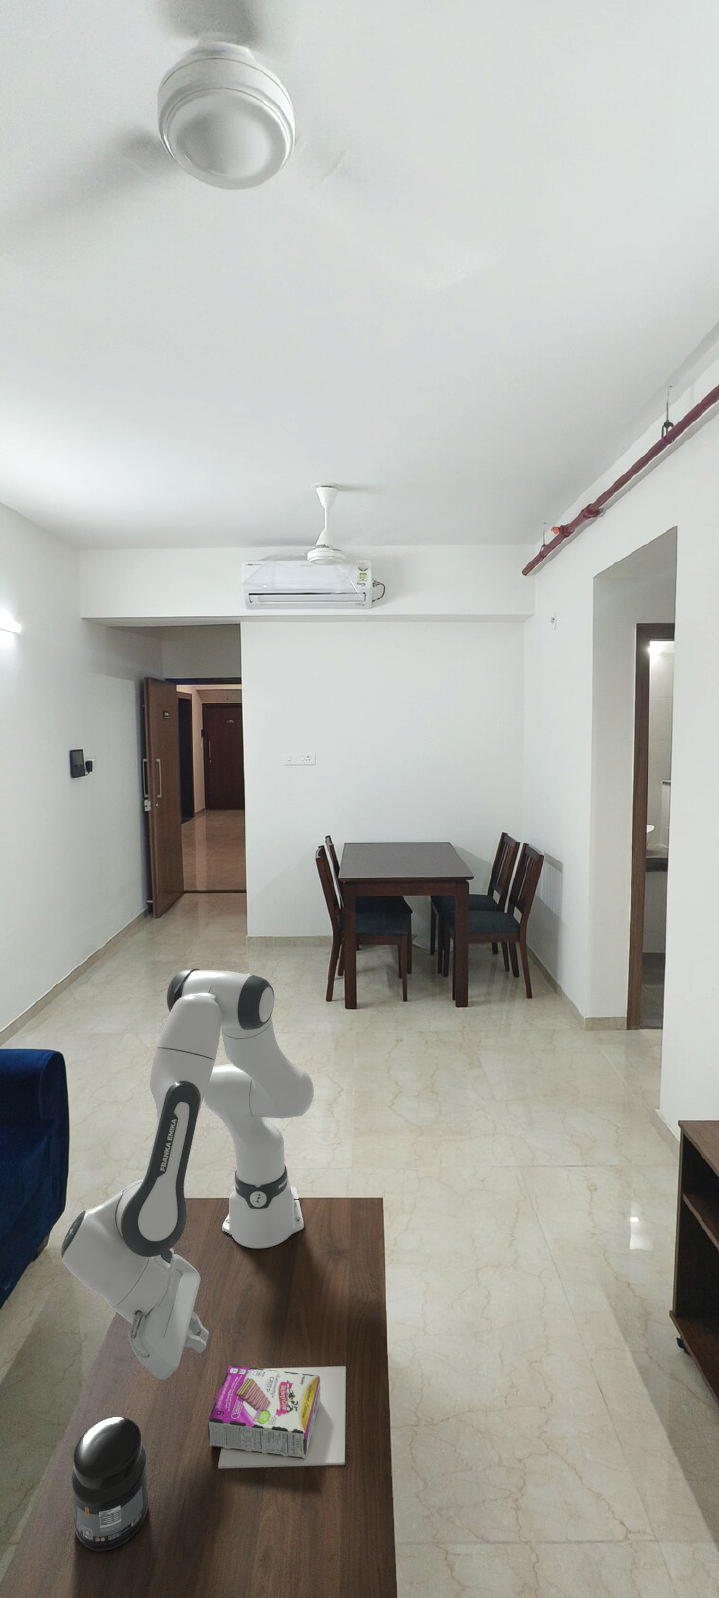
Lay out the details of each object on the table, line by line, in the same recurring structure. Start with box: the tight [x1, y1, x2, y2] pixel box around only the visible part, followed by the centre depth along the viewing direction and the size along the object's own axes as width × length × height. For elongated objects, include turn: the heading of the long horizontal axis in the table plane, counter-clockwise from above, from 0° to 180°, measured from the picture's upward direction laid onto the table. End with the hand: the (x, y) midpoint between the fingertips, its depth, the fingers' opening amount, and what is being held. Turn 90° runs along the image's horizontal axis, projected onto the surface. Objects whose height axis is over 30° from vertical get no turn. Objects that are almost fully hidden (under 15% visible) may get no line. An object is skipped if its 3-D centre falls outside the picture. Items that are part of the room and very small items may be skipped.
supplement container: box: [70, 1416, 149, 1552], centre depth 114 cm, size 10×10×12 cm
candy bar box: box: [207, 1364, 320, 1459], centre depth 128 cm, size 11×5×16 cm
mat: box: [217, 1365, 347, 1469], centre depth 130 cm, size 18×20×1 cm
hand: (205, 1343), depth 129 cm, fingers closed
